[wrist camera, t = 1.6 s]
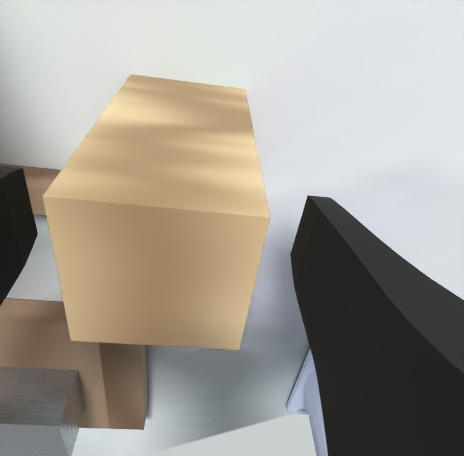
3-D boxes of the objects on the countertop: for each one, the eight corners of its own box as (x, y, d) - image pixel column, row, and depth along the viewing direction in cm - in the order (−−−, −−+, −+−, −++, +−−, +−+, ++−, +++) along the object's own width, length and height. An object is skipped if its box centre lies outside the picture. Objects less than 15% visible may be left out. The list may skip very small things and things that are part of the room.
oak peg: (245, 89, 13) (270, 217, 7) (230, 186, 16) (239, 349, 9) (130, 74, 13) (42, 196, 6) (133, 176, 15) (70, 340, 9)
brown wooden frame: (145, 178, 15) (139, 198, 14) (147, 407, 26) (143, 429, 25) (-149, 149, 14) (-183, 167, 13) (-22, 400, 25) (-34, 423, 23)
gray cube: (85, 346, 22) (58, 425, 18) (91, 384, 24) (69, 461, 20) (13, 342, 21) (-30, 423, 18) (26, 382, 24) (-9, 460, 20)
